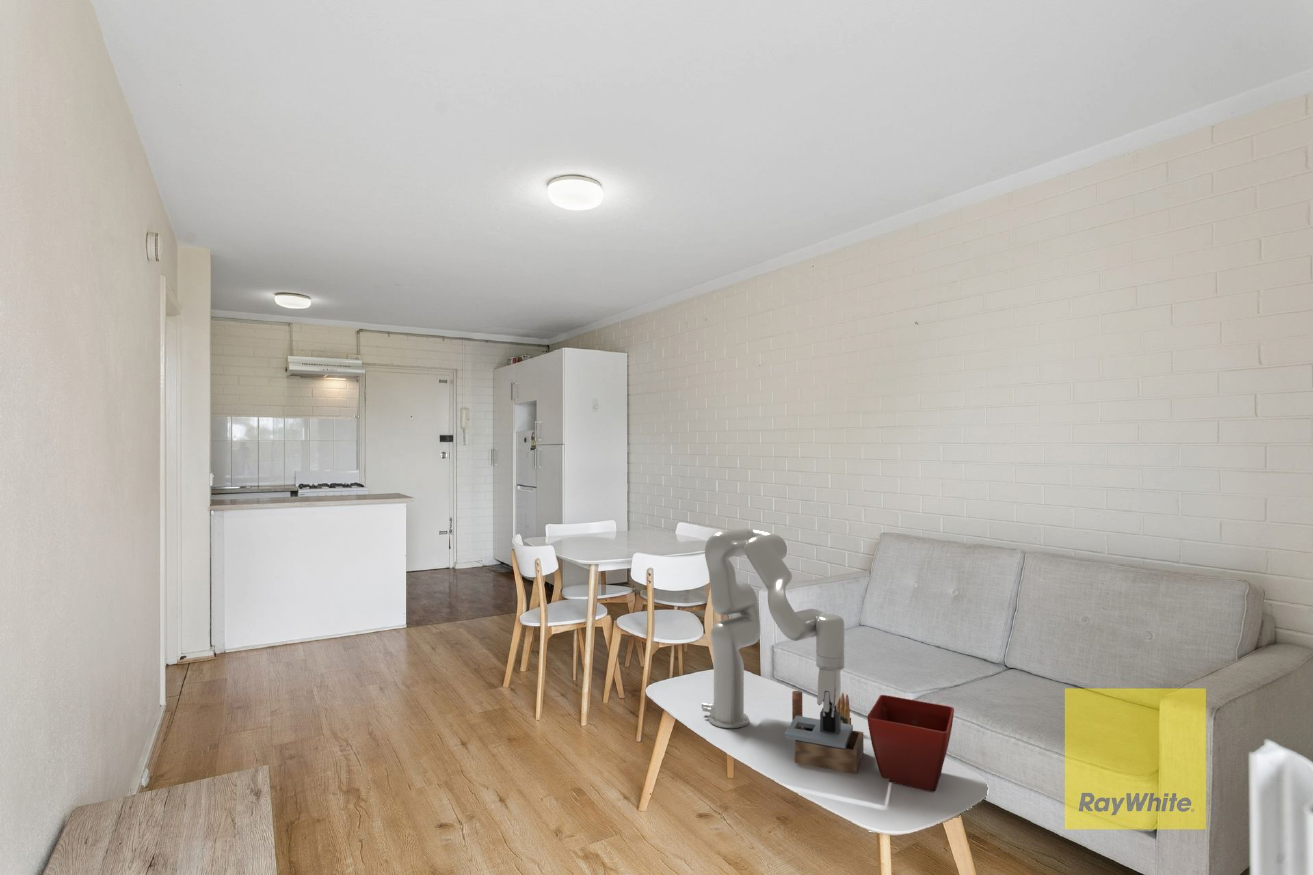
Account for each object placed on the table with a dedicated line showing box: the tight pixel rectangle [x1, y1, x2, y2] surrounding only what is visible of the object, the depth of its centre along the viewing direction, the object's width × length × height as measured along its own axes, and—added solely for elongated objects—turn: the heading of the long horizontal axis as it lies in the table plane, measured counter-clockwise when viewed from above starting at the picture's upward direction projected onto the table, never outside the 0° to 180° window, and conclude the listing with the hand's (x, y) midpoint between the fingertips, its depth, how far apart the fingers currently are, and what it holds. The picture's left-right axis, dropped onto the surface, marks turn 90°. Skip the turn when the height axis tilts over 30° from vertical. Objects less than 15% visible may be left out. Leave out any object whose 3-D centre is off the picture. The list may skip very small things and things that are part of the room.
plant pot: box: [866, 694, 955, 793], centre depth 173 cm, size 19×19×17 cm
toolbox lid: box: [784, 709, 854, 749], centre depth 183 cm, size 16×14×6 cm
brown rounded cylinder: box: [791, 690, 804, 730], centre depth 200 cm, size 3×3×12 cm
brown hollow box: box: [794, 727, 865, 776], centre depth 182 cm, size 16×14×7 cm
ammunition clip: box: [821, 692, 852, 725], centre depth 204 cm, size 11×2×12 cm, turn 30°
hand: (830, 727), depth 182 cm, fingers closed on toolbox lid, 3 cm apart
